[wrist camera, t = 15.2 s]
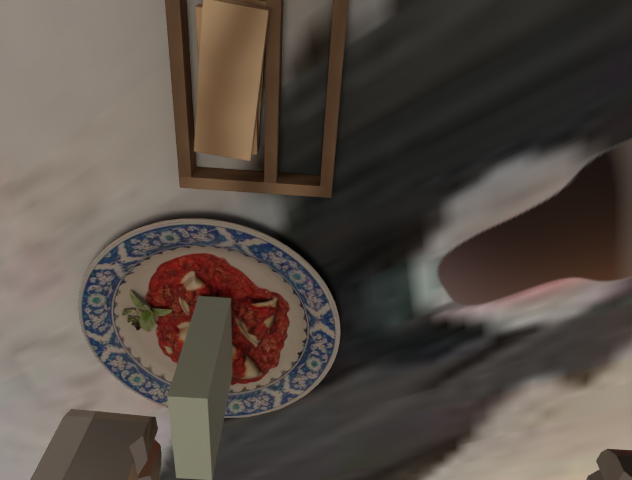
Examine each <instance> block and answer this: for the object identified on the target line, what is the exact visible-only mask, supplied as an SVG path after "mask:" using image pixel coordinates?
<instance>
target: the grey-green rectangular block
mask: <svg viewBox="0 0 632 480" xmlns="http://www.w3.org/2000/svg"><path fill="white" fill-rule="evenodd" d="M231 379H232V329H231V298H222V297H206V296H198V299H197V303H196V306H195V309H194V312H193V315H192V319H191V322H190V325H189V328H188V331H187V335H186V338H185V341H184V344H183V347H182V351H181V354H180V357H179V360H178V363H177V367H176V370H175V373H174V376H173V379H172V383H171V386H170V389H169V392H168V396H167V399H168V408H169V416H170V425H171V434H172V443H173V452H174V461H175V470H176V478H187V479H205V480H212V477H213V472H214V467H215V462H216V457H217V451H218V446H219V441H220V436H221V431H222V426H223V420H224V415H225V410H226V405H227V400H228V395H229V389H230V384H231Z"/></svg>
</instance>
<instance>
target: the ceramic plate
mask: <svg viewBox="0 0 632 480" xmlns="http://www.w3.org/2000/svg"><path fill="white" fill-rule="evenodd" d="M198 296H206V297H222V298H231V329H232V379H231V384H230V389H229V395H228V400H227V405H226V410H225V415H224V418H237V417H249V416H254V415H259V414H263V413H267V412H271V411H274V410H278V409H280V408H282V407H285V406H287V405H289V404H291V403H293V402H295V401H297V400H298V399H300V398H302V397H303V396H305V395H306V394H307V393H309V392H310V391H311V390H312V389H313V388H314V387H315V386H317V385H318V384H319V383H320V381H321V380H322V379H323V378H324V377H325V375H326V374H327V372H328V371H329V369H330V368H331V366H332V364H333V362H334V360H335V357H336V354H337V351H338V347H339V342H340V321H339V315H338V311H337V308H336V304H335V301H334V299H333V297H332V295H331V292H330V291H329V289H328V287H327V285H326V284H325V282H324V281H323V279H322V278H321V277H320V275H319V274H318V273H317V272H316V270H315V269H314V268H313V267H312V266H311V265H310V264H309V263H308V262H307V261H306V260H305V259H304V258H303V257H301V256H300V255H299V254H298V253H296V252H295V251H294V250H292V249H291V248H290V247H288V246H287V245H285V244H283V243H282V242H280V241H278V240H277V239H275V238H273V237H271V236H269V235H267V234H265V233H262V232H260V231H257V230H255V229H252V228H249V227H246V226H243V225H240V224H236V223H231V222H227V221H222V220H214V219H204V218H180V219H173V220H165V221H159V222H156V223H152V224H149V225H145V226H142V227H139V228H137V229H135V230H132V231H130V232H128V233H126V234H124V235H123V236H121V237H119V238H118V239H116V240H115V241H113V242H112V243H111V244H109V245H108V246H107V247H106V248H105V249H104V250H103V251H102V252H101V253H100V254H99V255H98V256H97V257H96V258H95V260H94V261H93V262H92V264H91V265H90V267H89V268H88V270H87V272H86V274H85V276H84V278H83V281H82V285H81V288H80V292H79V299H78V311H79V319H80V323H81V327H82V331H83V334H84V336H85V338H86V340H87V342H88V344H89V346H90V348H91V350H92V351H93V353H94V355H95V356H96V358H97V359H98V360H99V361H100V363H101V364H102V365H103V366H104V367H105V368H106V369H107V370H108V371H109V372H110V373H111V374H112V375H113V376H114V377H115V378H116V379H117V380H119V381H120V382H121V383H122V384H124V385H125V386H126V387H127V388H129V389H130V390H132V391H134V392H135V393H137V394H139V395H141V396H142V397H144V398H146V399H148V400H150V401H152V402H154V403H157V404H159V405H162V406H164V407H167V408H168V399H167V396H168V392H169V389H170V386H171V383H172V379H173V376H174V373H175V370H176V367H177V363H178V360H179V357H180V354H181V351H182V347H183V344H184V341H185V338H186V335H187V331H188V328H189V325H190V322H191V319H192V315H193V312H194V309H195V306H196V303H197V299H198Z"/></svg>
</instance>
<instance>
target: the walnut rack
mask: <svg viewBox="0 0 632 480" xmlns="http://www.w3.org/2000/svg"><path fill="white" fill-rule="evenodd" d="M165 6H166V18H167V31H168V44H169V56H170V69H171V81H172V94H173V107H174V119H175V132H176V144H177V157H178V169H179V182H180V187H181V188H195V189H210V190H224V191H239V192H254V193H268V194H283V195H297V196H312V197H326V198H331V195H332V184H333V172H334V160H335V149H336V137H337V126H338V114H339V103H340V91H341V79H342V68H343V56H344V45H345V33H346V22H347V10H348V0H333V13H332V26H331V40H330V54H329V68H328V81H327V95H326V109H325V122H324V136H323V150H322V164H321V176H320V175H306V174H291V173H278V172H279V135H280V99H281V63H282V26H283V0H266V7H270V13H269V21H268V30H267V38H266V78H265V159H264V172H262V171H248V170H233V169H219V168H204V167H196V152H195V151H194V140H195V136H194V119H193V103H192V86H191V69H190V53H189V36H188V20H187V3H186V0H165Z"/></svg>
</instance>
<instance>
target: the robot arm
mask: <svg viewBox="0 0 632 480" xmlns="http://www.w3.org/2000/svg"><path fill="white" fill-rule="evenodd" d="M157 430H158V427H157V422H156V417H151V416H140V415H130V414H120V413H110V412H100V411H88V410H75V409H71V410H70V411H69V412H68V413H67V414H66V415H65V416H64V417H63V419H62V421H61V423H60V424H59V426H58V428H57V430H56V432H55V434H54V436H53V438H52V440H51V442H50V444H49V445H48V447H47V449H46V451H45V453H44V455H43V457H42V459H41V461H40V463H39V464H38V466H37V468H36V470H35V472H34V474H33V476H32V478H31V480H159V475H160V469H161V446H160V444H159V443H158V442H157V441H156V440H155V436H156V433H157ZM596 462H597V464H598V466H599V469H600V470H598V471H596V472H594V473H593V474H591V475H589V476H588V477H587V480H632V450H618V449H606V450H604V451H603V452H601V453H600V455H599V457H598V459H597V460H596Z"/></svg>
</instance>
